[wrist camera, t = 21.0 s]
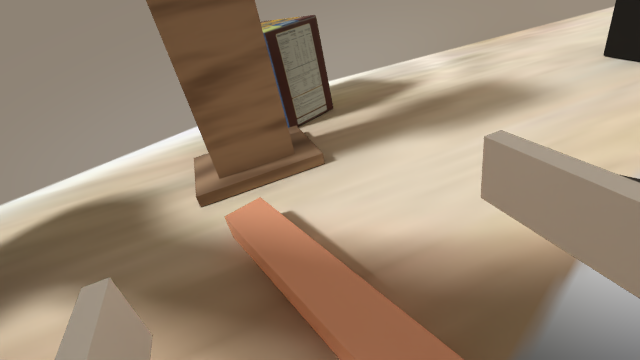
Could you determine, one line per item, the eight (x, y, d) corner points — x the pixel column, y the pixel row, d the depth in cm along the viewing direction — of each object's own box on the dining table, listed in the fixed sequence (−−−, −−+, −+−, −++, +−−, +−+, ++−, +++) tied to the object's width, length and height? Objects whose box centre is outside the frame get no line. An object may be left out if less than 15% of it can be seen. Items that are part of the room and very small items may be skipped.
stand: (324, 163, 43) (257, -151, 28) (200, 207, 40) (47, -121, 24) (298, 134, 53) (238, -108, 38) (197, 167, 50) (87, -83, 34)
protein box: (283, 100, 71) (262, 20, 63) (334, 108, 60) (317, 14, 52) (242, 119, 65) (213, 34, 57) (290, 132, 55) (263, 30, 47)
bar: (482, 407, 18) (485, 376, 16) (432, 469, 16) (431, 441, 14) (268, 220, 35) (260, 197, 34) (234, 239, 34) (224, 216, 32)
